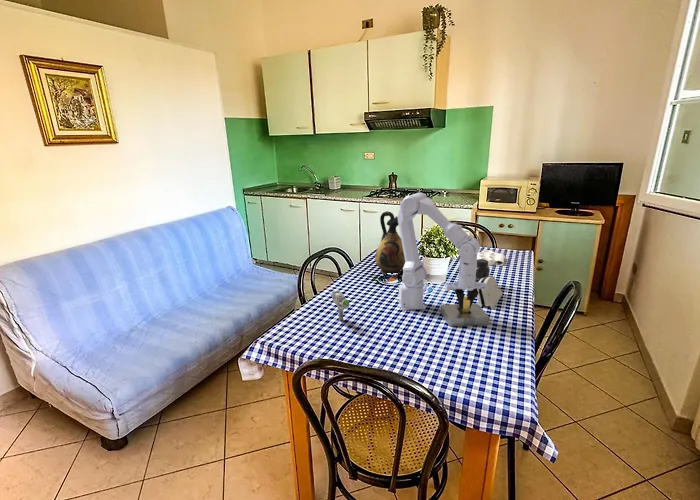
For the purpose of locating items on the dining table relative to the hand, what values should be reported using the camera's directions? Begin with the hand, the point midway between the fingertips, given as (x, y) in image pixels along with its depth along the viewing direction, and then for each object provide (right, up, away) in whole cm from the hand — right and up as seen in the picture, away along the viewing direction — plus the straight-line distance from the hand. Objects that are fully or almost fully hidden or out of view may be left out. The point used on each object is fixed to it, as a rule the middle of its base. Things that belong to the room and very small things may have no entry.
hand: (464, 307), depth 133 cm
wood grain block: (0, -4, +1) cm, 4 cm away
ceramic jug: (-22, +10, +47) cm, 53 cm away
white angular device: (+15, +1, +16) cm, 22 cm away
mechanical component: (-45, -5, +2) cm, 45 cm away
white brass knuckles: (+32, +15, +60) cm, 70 cm away
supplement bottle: (+16, +5, +29) cm, 33 cm away
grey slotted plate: (0, -4, +1) cm, 4 cm away
